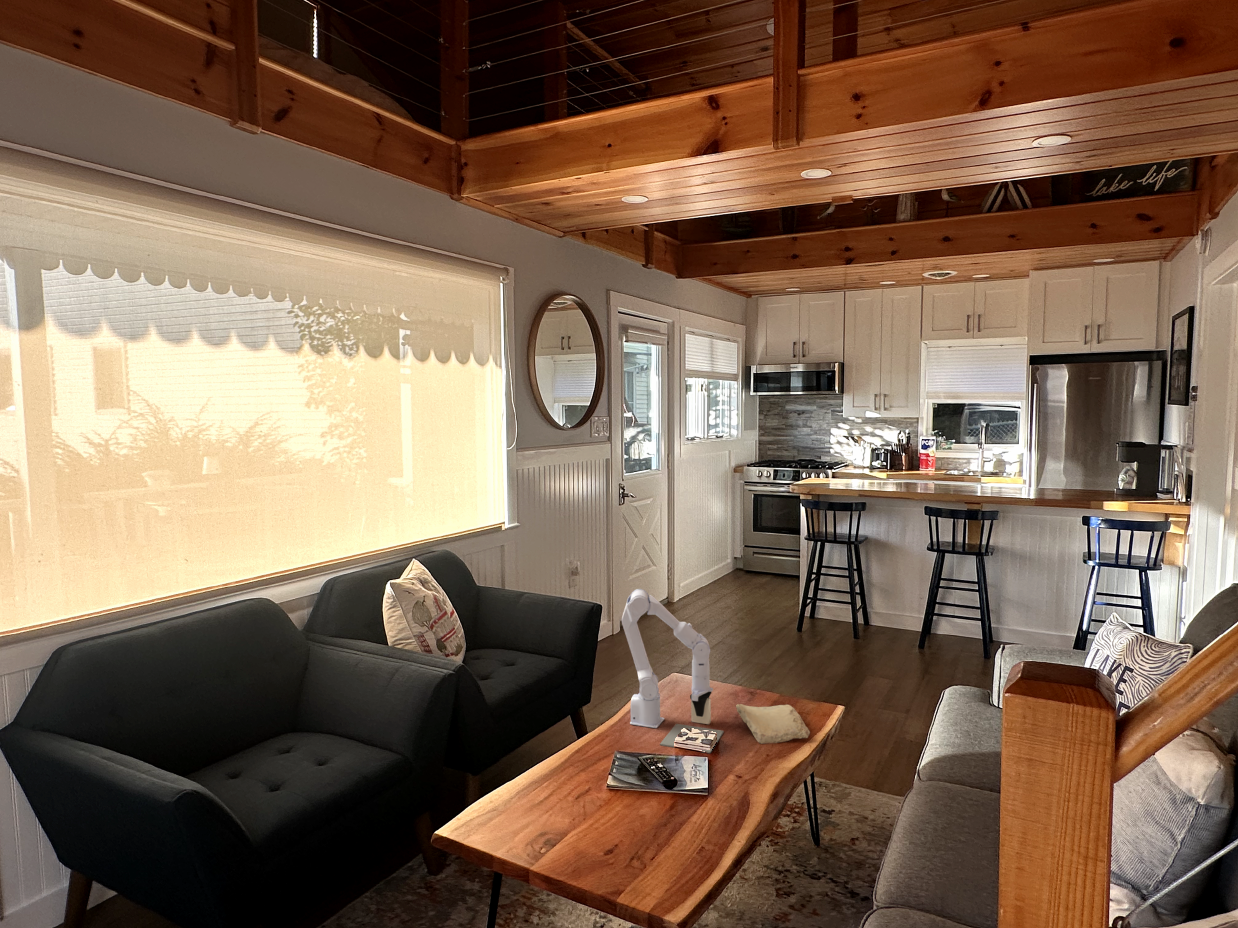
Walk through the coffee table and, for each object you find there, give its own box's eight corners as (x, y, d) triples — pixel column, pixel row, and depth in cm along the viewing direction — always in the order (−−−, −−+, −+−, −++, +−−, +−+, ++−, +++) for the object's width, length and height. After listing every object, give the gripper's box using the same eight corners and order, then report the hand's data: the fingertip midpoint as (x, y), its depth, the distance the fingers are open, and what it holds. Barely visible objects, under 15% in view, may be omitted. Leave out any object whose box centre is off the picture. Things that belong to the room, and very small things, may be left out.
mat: (660, 745, 242) (660, 743, 242) (676, 724, 257) (676, 723, 257) (710, 753, 236) (710, 751, 236) (723, 732, 251) (723, 730, 251)
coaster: (691, 721, 259) (691, 698, 258) (693, 719, 261) (693, 695, 260) (708, 724, 257) (708, 700, 256) (710, 721, 259) (710, 698, 258)
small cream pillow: (748, 747, 242) (812, 740, 242) (745, 724, 241) (809, 716, 242) (734, 718, 266) (792, 711, 266) (731, 697, 265) (790, 690, 266)
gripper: (706, 683, 249) (706, 724, 250) (718, 668, 263) (718, 707, 264) (685, 680, 252) (685, 721, 253) (698, 666, 265) (698, 705, 266)
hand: (700, 714), depth 258 cm, fingers closed on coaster, 2 cm apart
